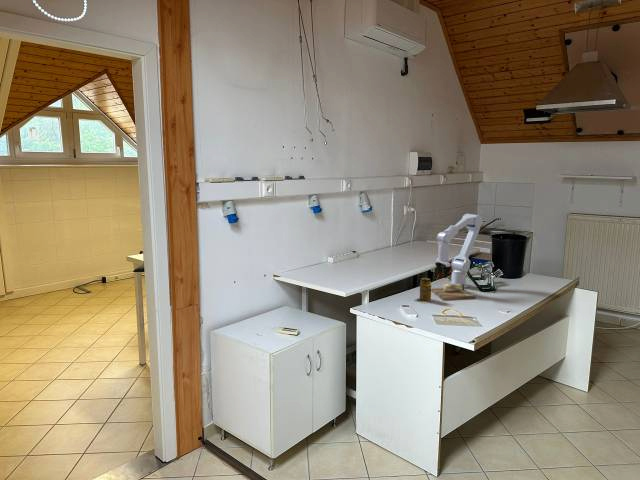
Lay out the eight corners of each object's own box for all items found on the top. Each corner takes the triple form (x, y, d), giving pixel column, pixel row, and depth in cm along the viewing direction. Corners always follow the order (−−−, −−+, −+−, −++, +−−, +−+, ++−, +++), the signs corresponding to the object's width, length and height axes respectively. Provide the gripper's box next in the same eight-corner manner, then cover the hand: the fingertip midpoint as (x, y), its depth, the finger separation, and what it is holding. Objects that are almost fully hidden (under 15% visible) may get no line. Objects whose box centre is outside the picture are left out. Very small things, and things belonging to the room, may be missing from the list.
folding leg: (462, 288, 274) (462, 283, 273) (465, 290, 270) (465, 285, 270) (443, 289, 272) (443, 284, 272) (445, 291, 269) (445, 286, 268)
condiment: (434, 300, 260) (434, 278, 257) (425, 303, 254) (425, 281, 252) (422, 297, 265) (423, 276, 263) (413, 300, 259) (414, 279, 257)
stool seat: (431, 291, 276) (431, 288, 276) (461, 289, 278) (461, 286, 278) (443, 300, 258) (443, 297, 258) (474, 298, 261) (475, 295, 260)
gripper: (432, 251, 280) (431, 273, 283) (441, 256, 266) (441, 279, 268) (443, 250, 281) (442, 272, 284) (453, 255, 267) (453, 278, 269)
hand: (442, 276), depth 276 cm, fingers open, 7 cm apart
